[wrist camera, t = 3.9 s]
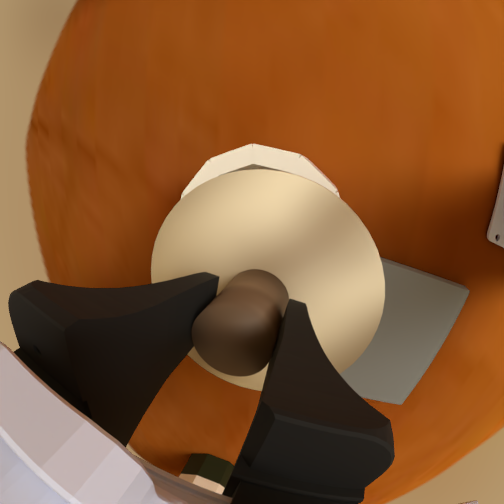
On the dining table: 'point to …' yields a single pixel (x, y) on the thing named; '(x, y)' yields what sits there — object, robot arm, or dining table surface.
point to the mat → (406, 333)
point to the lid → (272, 269)
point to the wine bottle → (207, 472)
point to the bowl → (260, 165)
